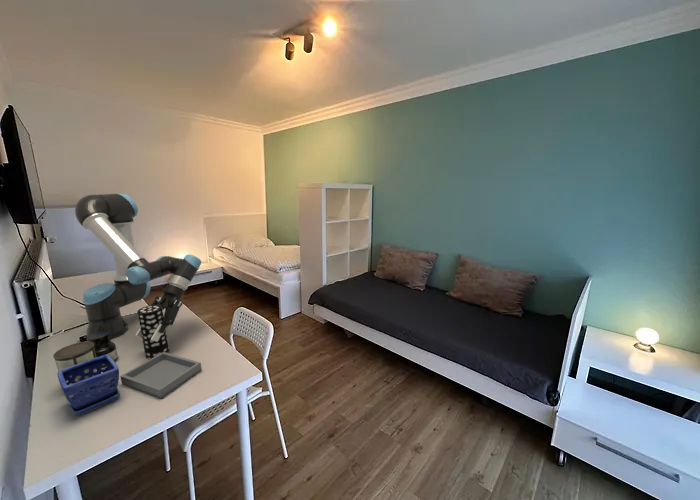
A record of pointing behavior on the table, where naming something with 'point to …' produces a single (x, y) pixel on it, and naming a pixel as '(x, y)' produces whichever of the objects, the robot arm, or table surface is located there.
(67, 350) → the coffee can
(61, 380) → the flower pot
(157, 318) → the white-spotted black cylinder
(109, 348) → the ink bottle
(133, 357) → the table surface
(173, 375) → the tray
